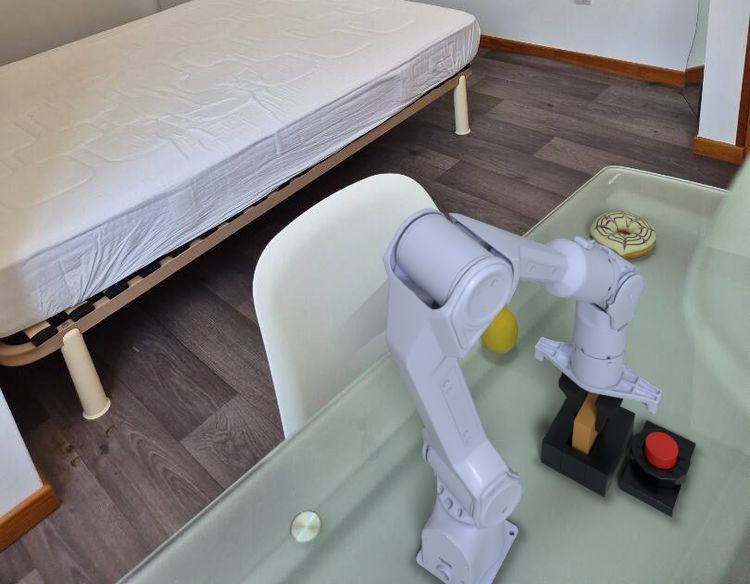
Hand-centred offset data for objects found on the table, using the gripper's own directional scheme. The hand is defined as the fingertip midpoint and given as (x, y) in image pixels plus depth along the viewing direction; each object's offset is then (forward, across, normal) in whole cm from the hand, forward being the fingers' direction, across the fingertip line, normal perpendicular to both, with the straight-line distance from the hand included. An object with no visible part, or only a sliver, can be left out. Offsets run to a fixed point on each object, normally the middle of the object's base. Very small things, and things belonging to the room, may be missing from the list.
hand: (590, 421), depth 84 cm
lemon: (+5, +16, -8) cm, 19 cm away
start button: (+2, -8, -2) cm, 9 cm away
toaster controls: (+5, -8, -2) cm, 10 cm away
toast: (+4, 0, 0) cm, 4 cm away
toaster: (+5, 0, 0) cm, 5 cm away
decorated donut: (+5, +10, -41) cm, 42 cm away
